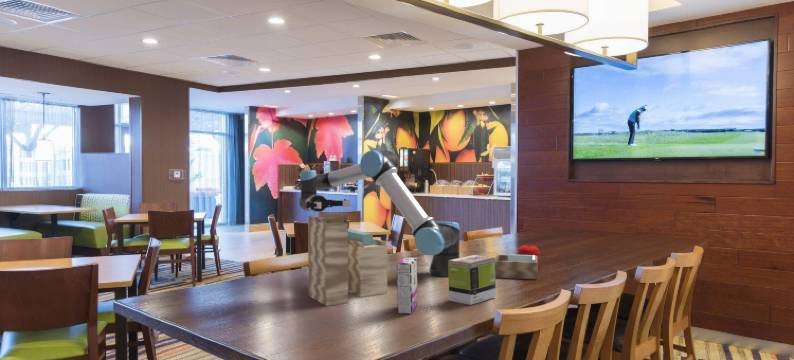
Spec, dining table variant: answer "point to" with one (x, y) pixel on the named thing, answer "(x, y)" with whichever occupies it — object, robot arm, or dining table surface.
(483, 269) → the tea box
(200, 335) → the dining table surface
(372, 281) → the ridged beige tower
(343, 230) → the stand
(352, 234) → the bar
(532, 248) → the apple
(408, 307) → the candy bar box
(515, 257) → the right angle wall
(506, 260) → the caddy
